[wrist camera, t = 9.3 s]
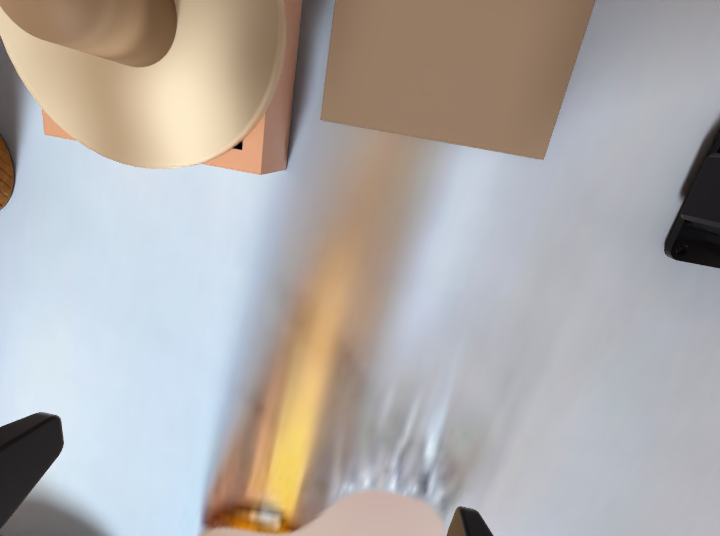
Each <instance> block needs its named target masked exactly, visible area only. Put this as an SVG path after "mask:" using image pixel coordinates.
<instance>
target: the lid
mask: <svg viewBox="0 0 720 536" xmlns="http://www.w3.org/2000/svg"><path fill="white" fill-rule="evenodd" d="M0 35H1V38H2V40H3V43H4V46H5V48H6V51H7V53H8V55H9V57H10V59H11V61H12V63H13V65H14V67H15V69H16V71H17V73H18V75H19V76H20V78H21V79H22V81H23V83H24V84H25V86H26V87H27V89H28V90H29V92H30V93H31V95H32V96H33V97H34V99H35V100H36V101H37V102H38V104H39V105H40V106H41V108H42V109H43V110H44V111H45V112H46V113H47V114H48V115H49V116H50V117H51V118H52V119H53V121H54V122H55V123H56V124H57V125H59V126H60V127H61V128H62V129H63V130H64V131H66V132H67V133H68V134H69V135H70V136H71V137H73V138H74V139H76V140H77V141H79V142H80V143H81V144H83V145H84V146H86V147H87V148H89V149H91V150H93V151H95V152H96V153H98V154H100V155H102V156H104V157H107V158H109V159H112V160H114V161H117V162H119V163H123V164H127V165H131V166H135V167H142V168H151V169H162V168H178V167H186V166H192V165H198V164H201V163H204V162H207V161H210V160H213V159H215V158H217V157H219V156H221V155H223V154H225V153H227V152H228V151H230V150H231V149H232V148H234V147H235V146H237V145H238V144H239V143H240V142H241V141H242V140H244V139H245V138H246V137H247V136H248V135H249V134H250V133H251V132H252V130H253V129H254V128H255V126H256V125H257V124H258V123H259V121H260V120H261V119H262V117H263V115H264V113H265V112H266V110H267V108H268V106H269V105H270V103H271V100H272V98H273V96H274V93H275V91H276V88H277V86H278V82H279V78H280V75H281V71H282V67H283V61H284V54H285V48H286V15H285V3H284V0H0Z"/></svg>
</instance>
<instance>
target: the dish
mask: <svg viewBox="0 0 720 536" xmlns="http://www.w3.org/2000/svg"><path fill="white" fill-rule="evenodd" d="M284 3H285V15H286V48H285V54H284V61H283V67H282V71H281V75H280V78H279V82H278V86H277V88H276V91H275V93H274V96H273V98H272V100H271V103H270V105H269V106H268V108H267V110H266V112H265V113H264V115H263V117H262V119H261V120H260V121H259V123H258V124H257V125H256V126H255V128H254V129H253V130H252V132H251V133H250V134H249V135H248V136H247V137H246V138H245V139H244V140H242V141H241V142H240V143H239V144H238V145H237V146H235V147H234V148H232V149H231V150H230V151H228V152H227V153H225V154H223V155H221V156H219V157H217V158H215V159H213V160H210V161H207V162H204V163H201V164H205V165H211V166H216V167H221V168H227V169H232V170H237V171H243V172H248V173H254V174H259V175H262V174H267V173H272V172H277V171H282V170H286V165H287V155H288V145H289V135H290V125H291V115H292V105H293V95H294V85H295V74H296V64H297V54H298V44H299V34H300V24H301V14H302V4H303V0H284ZM42 114H43V123H44V132H45V135H49V136H55V137H60V138H65V139H71V140H76V139H74V138H73V137H71V136H70V135H69V134H68V133H67V132H66V131H64V130H63V129H62V128H61V127H60V126H59V125H57V124H56V123H55V122H54V121H53V119H52V118H51V117H50V116H49V115H48V114H47V113H46V112H45V111H44V110H43V109H42ZM76 141H77V140H76Z"/></svg>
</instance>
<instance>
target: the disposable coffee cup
mask: <svg viewBox="0 0 720 536" xmlns="http://www.w3.org/2000/svg"><path fill="white" fill-rule="evenodd" d="M13 183H14V173H13V165H12V161H11V158H10V155H9V151H8V149H7V147H6V145H5V143H4V141H3V139H2V137H1V136H0V210H1V209H2V208H3V207H4V206H5V205H6V203H7V202H8V200H9V198H10V197H11V193H12V189H13Z"/></svg>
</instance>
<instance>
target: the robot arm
mask: <svg viewBox="0 0 720 536" xmlns="http://www.w3.org/2000/svg"><path fill="white" fill-rule="evenodd" d="M681 245H682V249H681V250H680V251H679V252H677V253H676V250H677V248H678V247H679V246H681ZM664 251H665V254H666V255H667V256H668V257H670V258H673V259H675V260H678V261H684V262H689V263H694V264H700V265H705V266H710V267H716V268H720V130H719V132H718V134H717V136H716V138H715V140H714V143H713V145H712V147H711V149H710V151H709V153H708V155H707V157H706V159H705V160H704V163H703V165H702V167H701V169H700V171H699V173H698V175H697V178H696V180H695V182H694V184H693V186H692V188H691V190H690V193H689V195H688V197H687V199H686V201H685V203H684V205H683V208H682V210H681V212H680V215H679V217H678V220H677V222H676V224H675V226H674V228H673V230H672V232H671V234H670V237H669V239H668V241H667V243H666V245H665V249H664ZM63 445H64V440H63V432H62V423H61V419H60V417H59V416H57V415H53V414H49V413H44V412H39V413H35V414H33V415H30V416H27V417H25V418H22V419H20V420H17V421H15V422H12V423H9V424H7V425H4V426H2V427H0V529H1V528H2V526H3V525H4V524H5V523H6V522H7V520H8V519H9V518H10V517H11V516H12V514H13V513H14V512H15V511H16V509H17V508H18V507H19V505H20V504H21V503H22V502H23V500H24V499H25V498H26V497H27V495H28V494H29V493H30V491H31V490H32V489H33V488H34V486H35V485H36V484H37V483H38V481H39V480H40V479H41V477H42V476H43V475H44V474H45V472H46V471H47V470H48V469H49V467H50V466H51V465H52V463H53V462H54V461H55V460H56V458H57V457H58V456H59V454H60V452H61V451H62V448H63ZM447 536H493V534H492V533H491V531H490V529H489V528H488V526H487V525H486V523H485V521H484V520H483V518H482V517H481V515H480V514H479V512H478V511H476V510H474V509H471V508H466V507H462V506H459V507H458V508H457V509H456V511H455V513H454V516H453V519H452V521H451V524H450V527H449V529H448V533H447Z"/></svg>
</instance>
